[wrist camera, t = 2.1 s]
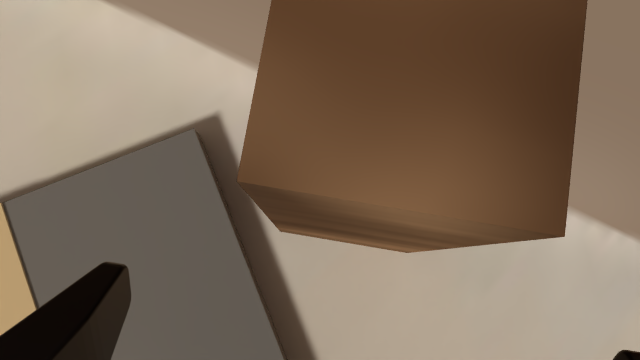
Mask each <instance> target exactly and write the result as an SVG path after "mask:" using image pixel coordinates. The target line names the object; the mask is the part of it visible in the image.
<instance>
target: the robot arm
mask: <svg viewBox="0 0 640 360" xmlns="http://www.w3.org/2000/svg"><path fill="white" fill-rule="evenodd" d="M130 303H131V286H130V277H129V270H128V267H127V266H126V265H124V264H120V263H114V262H103V263H101V264H99V265H98V266H96V267H95V268H94V269H92V270H91V271H90V272H88V273H87V274H85V275H84V276H83V277H81V278H80V279H78V280H77V281H76V282H74V283H73V284H71V285H70V286H69V287H67V288H66V289H64V290H63V291H62V292H60V293H59V294H57V295H56V296H55V297H53V298H52V299H51V300H49V301H48V302H46V303H45V304H44V305H42V306H41V307H39V308H38V309H37V310H35V311H34V312H32V313H31V314H30V315H28V316H27V317H25V318H24V319H23V320H21V321H20V322H18V323H17V324H16V325H14V326H13V327H12V328H10V329H9V330H7V331H6V332H5V333H3V334H2V335H0V360H111V358H112V355H113V352H114V349H115V347H116V344H117V341H118V338H119V335H120V332H121V330H122V327H123V324H124V321H125V318H126V316H127V313H128V310H129V307H130ZM613 360H640V352H636V351H630V350H622V351H620V352H618V353H617V355H616V356H615V357H614V359H613Z"/></svg>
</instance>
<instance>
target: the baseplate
mask: <svg viewBox="0 0 640 360" xmlns="http://www.w3.org/2000/svg"><path fill="white" fill-rule="evenodd" d="M103 262H114V263H120V264H124V265H126V266H127V267H128V270H129V277H130V286H131V303H130V307H129V310H128V313H127V316H126V318H125V321H124V324H123V327H122V330H121V332H120V335H119V338H118V341H117V344H116V347H115V349H114V352H113V355H112V358H111V360H287V358H286V356H285V353H284V351H283V348H282V346H281V343H280V341H279V338H278V335H277V333H276V330H275V328H274V325H273V323H272V320H271V318H270V315H269V312H268V310H267V307H266V305H265V302H264V300H263V297H262V294H261V292H260V289H259V287H258V284H257V282H256V279H255V277H254V274H253V271H252V269H251V266H250V264H249V261H248V259H247V256H246V254H245V251H244V248H243V246H242V243H241V241H240V238H239V236H238V233H237V230H236V228H235V225H234V223H233V220H232V218H231V215H230V213H229V210H228V207H227V205H226V202H225V200H224V197H223V195H222V192H221V190H220V187H219V184H218V182H217V179H216V177H215V174H214V172H213V169H212V167H211V164H210V161H209V159H208V156H207V154H206V151H205V149H204V146H203V143H202V141H201V138H200V136H199V134H198V133H197V132H196V130H195V129H194V128H193V129H191V130H188V131H186V132H183V133H181V134H178V135H176V136H173V137H170V138H168V139H165V140H163V141H160V142H158V143H155V144H152V145H150V146H147V147H145V148H142V149H140V150H137V151H135V152H132V153H129V154H127V155H124V156H122V157H119V158H117V159H114V160H111V161H109V162H106V163H104V164H101V165H99V166H96V167H94V168H91V169H88V170H86V171H83V172H81V173H78V174H76V175H73V176H70V177H68V178H65V179H63V180H60V181H58V182H55V183H53V184H50V185H47V186H45V187H42V188H40V189H37V190H35V191H32V192H29V193H27V194H24V195H22V196H19V197H17V198H14V199H11V200H9V201H6V202H4V203H0V335H2V334H3V333H5V332H6V331H7V330H9V329H10V328H12V327H13V326H14V325H16V324H17V323H18V322H20V321H21V320H23V319H24V318H25V317H27V316H28V315H30V314H31V313H32V312H34V311H35V310H37V309H38V308H39V307H41V306H42V305H44V304H45V303H46V302H48V301H49V300H51V299H52V298H53V297H55V296H56V295H57V294H59V293H60V292H62V291H63V290H64V289H66V288H67V287H69V286H70V285H71V284H73V283H74V282H76V281H77V280H78V279H80V278H81V277H83V276H84V275H85V274H87V273H88V272H90V271H91V270H92V269H94V268H95V267H96V266H98V265H99V264H101V263H103Z"/></svg>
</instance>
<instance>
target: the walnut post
mask: <svg viewBox="0 0 640 360" xmlns="http://www.w3.org/2000/svg"><path fill="white" fill-rule="evenodd" d="M586 9H587V0H272V1H271V6H270V11H269V17H268V22H267V27H266V32H265V37H264V43H263V48H262V53H261V58H260V63H259V68H258V73H257V79H256V84H255V89H254V94H253V99H252V104H251V109H250V115H249V120H248V125H247V130H246V135H245V140H244V146H243V151H242V156H241V161H240V166H239V171H238V177H237V182H238V183H239V185H240V186H241V187H242V188H243V189H244V190H245V191H246V193H247V194H248V195H249V196H250V197H251V198H252V199H253V201H254V202H255V203H256V204H257V205H258V206H259V208H260V209H261V210H262V211H263V212H264V213H265V214H266V216H267V217H268V218H269V219H270V220H271V221H272V222H273V224H274V225H275V226H276V227H277V228H278V229H279V230H280V231H281V232H287V233H293V234H299V235H305V236H310V237H316V238H322V239H328V240H334V241H340V242H346V243H352V244H358V245H364V246H370V247H375V248H381V249H387V250H393V251H399V252H405V253H411V252H420V251H430V250H440V249H450V248H459V247H469V246H479V245H489V244H498V243H508V242H518V241H528V240H537V239H547V238H557V237H565V228H566V218H567V207H568V196H569V186H570V175H571V165H572V155H573V144H574V134H575V124H576V112H577V103H578V93H579V92H578V91H579V82H580V72H581V62H582V51H583V41H584V30H585V19H586Z"/></svg>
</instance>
